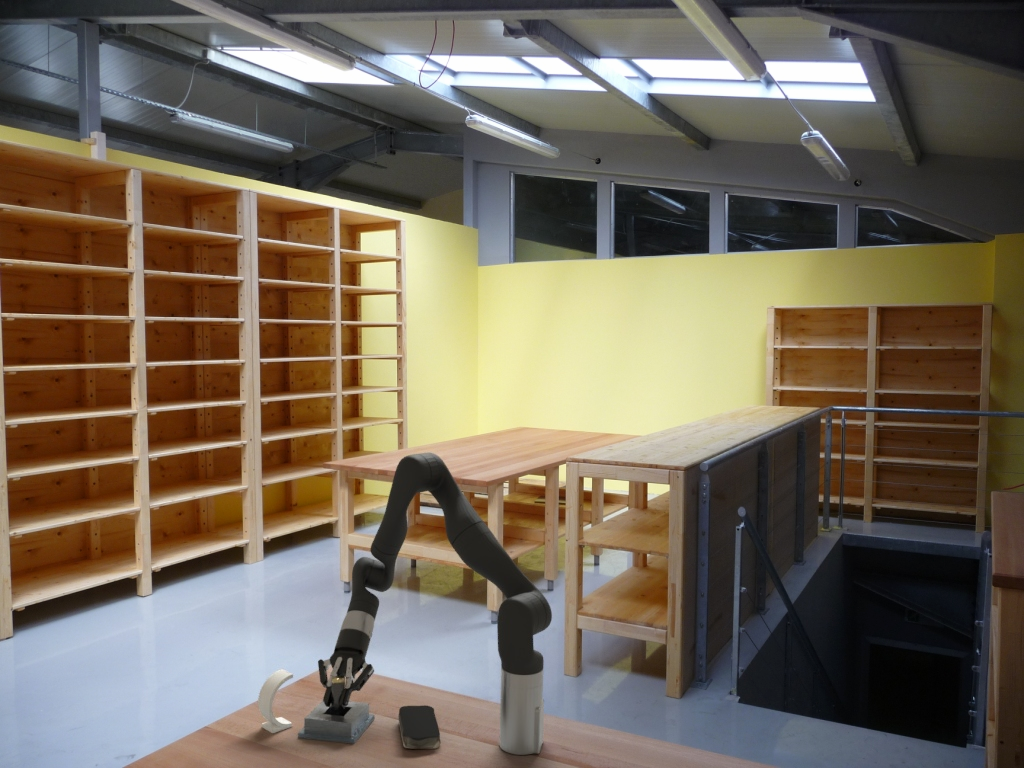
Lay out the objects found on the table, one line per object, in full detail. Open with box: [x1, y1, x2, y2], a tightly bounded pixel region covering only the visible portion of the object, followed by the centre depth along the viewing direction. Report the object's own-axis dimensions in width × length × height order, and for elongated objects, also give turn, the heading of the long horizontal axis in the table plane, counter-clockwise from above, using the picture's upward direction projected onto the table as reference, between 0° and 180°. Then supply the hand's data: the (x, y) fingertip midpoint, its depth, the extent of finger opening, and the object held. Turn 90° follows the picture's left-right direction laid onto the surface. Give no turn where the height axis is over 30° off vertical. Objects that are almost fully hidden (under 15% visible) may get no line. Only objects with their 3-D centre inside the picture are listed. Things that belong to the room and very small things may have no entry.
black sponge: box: [398, 705, 442, 750], centre depth 184 cm, size 16×8×4 cm, turn 12°
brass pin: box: [331, 676, 346, 716], centre depth 186 cm, size 3×3×10 cm
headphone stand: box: [257, 668, 294, 734], centre depth 186 cm, size 5×6×12 cm
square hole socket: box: [297, 700, 376, 745], centre depth 186 cm, size 13×13×4 cm
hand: (334, 705), depth 184 cm, fingers closed on brass pin, 3 cm apart
